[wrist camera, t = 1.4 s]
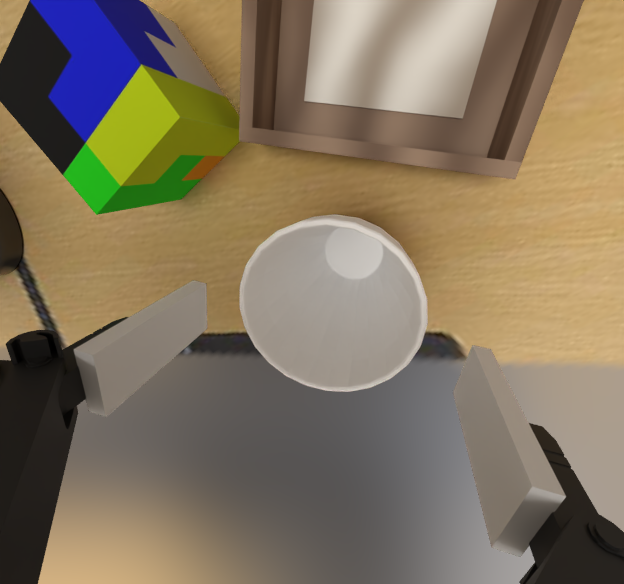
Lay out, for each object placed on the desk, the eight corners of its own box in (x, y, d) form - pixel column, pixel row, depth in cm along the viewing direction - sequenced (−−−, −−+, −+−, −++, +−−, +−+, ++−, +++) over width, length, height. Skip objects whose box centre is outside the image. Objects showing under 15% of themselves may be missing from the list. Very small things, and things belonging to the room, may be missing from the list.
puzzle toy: (175, 23, 25) (54, -54, 16) (250, 131, 27) (179, 116, 18) (112, 110, 29) (-12, 87, 20) (181, 199, 31) (96, 214, 22)
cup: (401, 178, 25) (409, 192, 13) (420, 292, 29) (441, 386, 17) (286, 209, 29) (211, 244, 17) (316, 308, 32) (271, 397, 20)
